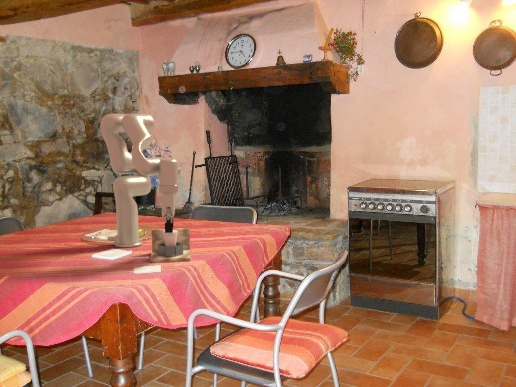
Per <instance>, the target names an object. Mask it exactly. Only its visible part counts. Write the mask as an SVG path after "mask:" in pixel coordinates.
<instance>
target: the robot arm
mask: <svg viewBox="0 0 516 387" xmlns="http://www.w3.org/2000/svg"><path fill="white" fill-rule="evenodd" d="M154 128H155V120H154V118H153V117H152V115H150V114H148V113H109V114H108V113H107V114H106V115H104V116H103V117H102V118H101V121H100V133H101V136H102V139H103V140H104V142H105V144H106V148H107V152H108V157H109V161H110V165H111V168H112V172H114V173H115V174H117V175H121V176H119V177H116V178H115V179H114V180H113V183H112V189H113V194H114V200H115V209H116V210H115V211H116V213H115V214H116V232H117V234H116V235H114V236H113V235H112V236H111V235H110V236H107V241H109V242H114V244H113V246H115V247H118V248H134V247H139V246H141V245H142V244H143V241H142V240H141V239H139V233H140V231H139V213H138V212H139V209H138V204H137V202H136V201H135V200H134V197H139V196H140V197H141V196H147V195H148V194H149V193H150V192H151V190H152V182H151V176H158V177H159V178H158V181H159V182H158V183H159V184H158V185H159V189H158V190H159V191H158V192H159V194H161V217H162V218H164V217H165V218H164V220H165V221H164V229H165V233H172V232H173V229H174V217H175V213H176V212H175V211H176V194H179V169H178V168H179V166H178V165H179V162H178V160H177V159H175V158H168V157H165V156H156V157H154V156H151V157H145V156H144V154H143V152H142V151H144V150H146V149H148V147H149V146H151V144H152V142H153V137H152V135H151V134H150V133H151V132H153V131H154ZM119 133H126V135H127V137H128V139H129V140H130V142H131V143H132V145H133V146H132V148H131V152H129V151H128V147H127V142H126V141H125V139H123V137H122V136H121V135H120V134H119ZM128 174H133V175H128ZM122 175H124V176H122Z"/></svg>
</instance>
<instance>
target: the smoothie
mask: <svg viewBox="0 0 516 387" xmlns="http://www.w3.org/2000/svg"><path fill="white" fill-rule="evenodd" d="M162 234H163V236H164V243H165V247H171V246H176V241H177V234H178V231H177V230H173V232H172V233H165V230H164V231H162Z"/></svg>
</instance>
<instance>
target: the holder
mask: <svg viewBox="0 0 516 387" xmlns="http://www.w3.org/2000/svg"><path fill="white" fill-rule="evenodd" d="M164 230H165V228H159V229H158V228H157V229H155V228H153V229H151V247H152V248H151V249H152V250H151V251H152V252H151V254H150V258H149V263H161V262H162V263H167V262H169V263H170V262H186V261H187V262H190V261H191V237H190V234H191V233H190V232H191V231H190V228H189V227H188V228H173V230H177V231H178V234H177V241H176V246H171V247H165V243H164V236H163V234H162V231H164Z"/></svg>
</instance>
